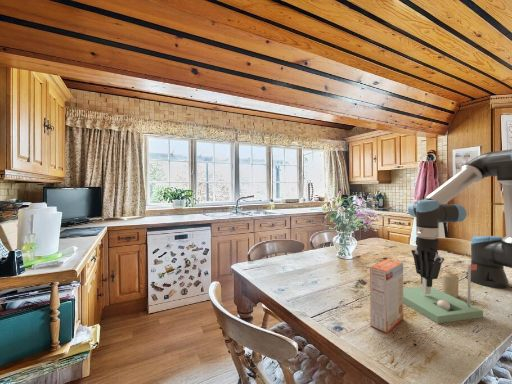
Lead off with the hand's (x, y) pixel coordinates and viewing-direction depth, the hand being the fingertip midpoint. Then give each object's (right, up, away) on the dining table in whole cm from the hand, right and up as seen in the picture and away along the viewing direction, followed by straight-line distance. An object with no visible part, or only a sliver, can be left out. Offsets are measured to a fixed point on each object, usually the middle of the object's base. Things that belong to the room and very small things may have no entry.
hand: (426, 293), depth 97 cm
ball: (+1, -1, -8) cm, 8 cm away
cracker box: (-25, -4, -15) cm, 29 cm away
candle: (+15, -4, +6) cm, 17 cm away
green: (0, -4, -3) cm, 4 cm away
